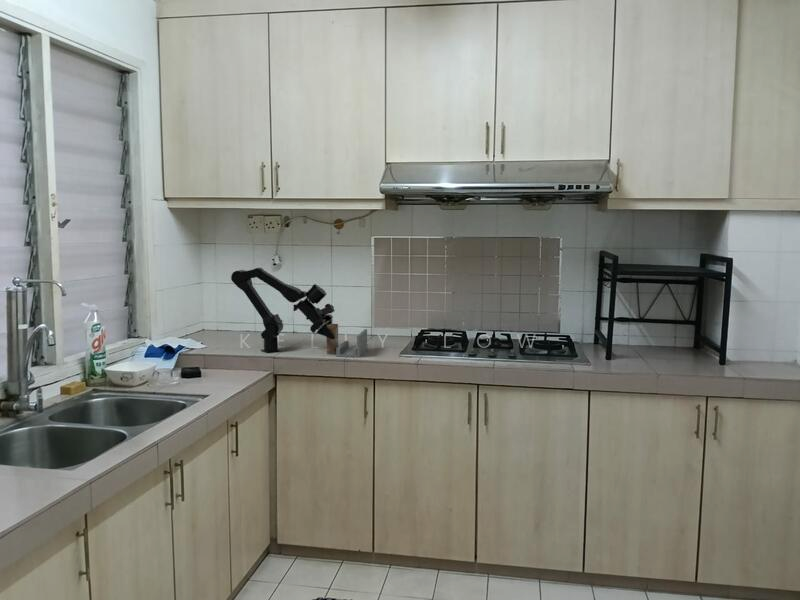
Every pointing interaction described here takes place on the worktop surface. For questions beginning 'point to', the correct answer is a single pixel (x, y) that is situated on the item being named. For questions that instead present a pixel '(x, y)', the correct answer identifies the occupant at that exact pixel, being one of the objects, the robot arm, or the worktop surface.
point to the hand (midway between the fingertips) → (335, 337)
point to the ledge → (353, 351)
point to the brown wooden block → (332, 343)
